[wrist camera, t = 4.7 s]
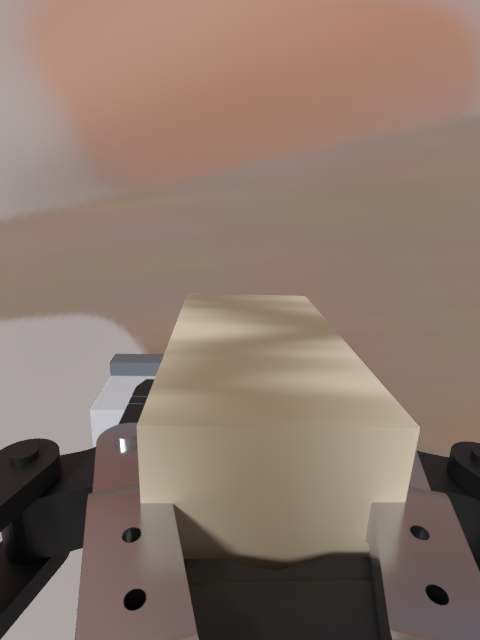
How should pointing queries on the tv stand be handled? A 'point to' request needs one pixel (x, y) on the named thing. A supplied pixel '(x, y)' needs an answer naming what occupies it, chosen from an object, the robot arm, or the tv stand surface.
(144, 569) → the robot arm
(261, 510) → the birch block
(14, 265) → the tv stand surface
